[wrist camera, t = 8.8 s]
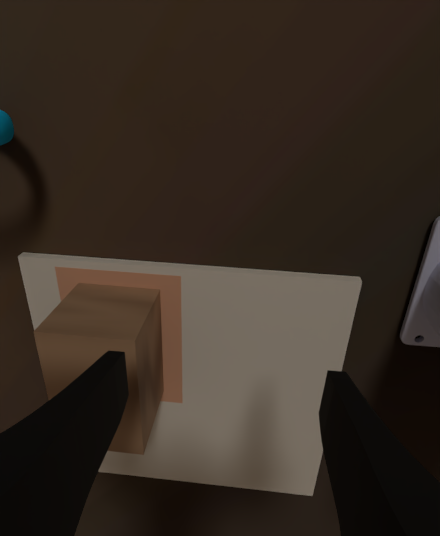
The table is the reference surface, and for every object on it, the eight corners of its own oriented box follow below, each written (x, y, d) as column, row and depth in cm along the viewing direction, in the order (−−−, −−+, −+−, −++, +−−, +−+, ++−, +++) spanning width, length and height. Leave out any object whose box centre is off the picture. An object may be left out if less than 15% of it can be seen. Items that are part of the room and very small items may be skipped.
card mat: (359, 276, 21) (362, 281, 21) (311, 488, 29) (312, 496, 29) (23, 252, 22) (17, 256, 22) (68, 461, 31) (65, 468, 30)
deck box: (163, 390, 26) (143, 454, 21) (93, 383, 26) (58, 445, 21) (160, 289, 22) (134, 340, 18) (78, 282, 22) (33, 331, 18)
